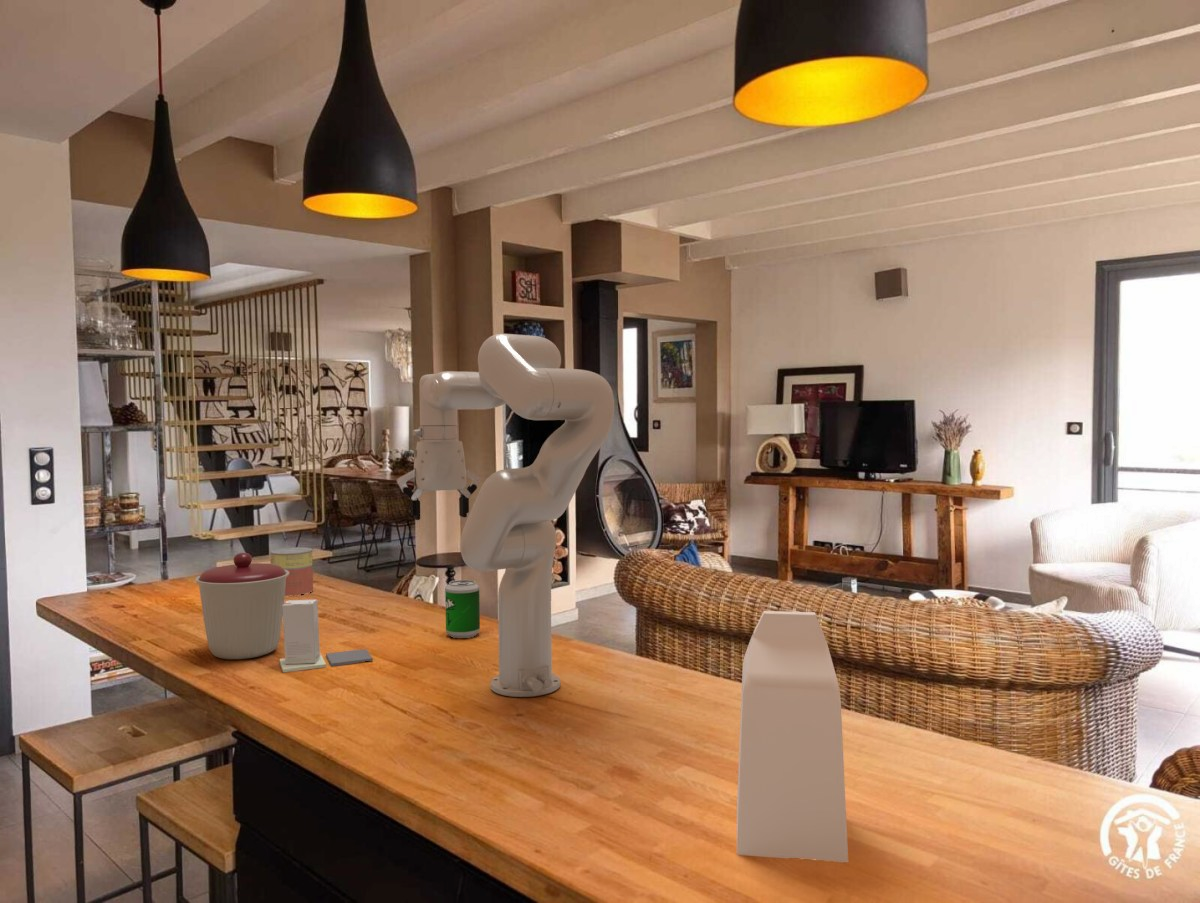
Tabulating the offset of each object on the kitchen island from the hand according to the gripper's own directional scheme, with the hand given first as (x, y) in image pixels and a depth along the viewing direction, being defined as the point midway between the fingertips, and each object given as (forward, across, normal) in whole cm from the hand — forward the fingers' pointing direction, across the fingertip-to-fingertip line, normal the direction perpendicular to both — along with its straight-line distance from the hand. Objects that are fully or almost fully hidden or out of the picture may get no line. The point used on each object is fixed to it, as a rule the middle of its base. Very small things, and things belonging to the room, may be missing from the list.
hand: (440, 518), depth 176 cm
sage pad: (+28, -27, +5) cm, 39 cm away
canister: (+28, -37, +19) cm, 50 cm away
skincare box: (+28, -27, +5) cm, 39 cm away
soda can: (+28, +8, +13) cm, 32 cm away
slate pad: (+28, -18, +5) cm, 34 cm away
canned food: (+28, -22, +81) cm, 89 cm away
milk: (+29, +17, -93) cm, 99 cm away
